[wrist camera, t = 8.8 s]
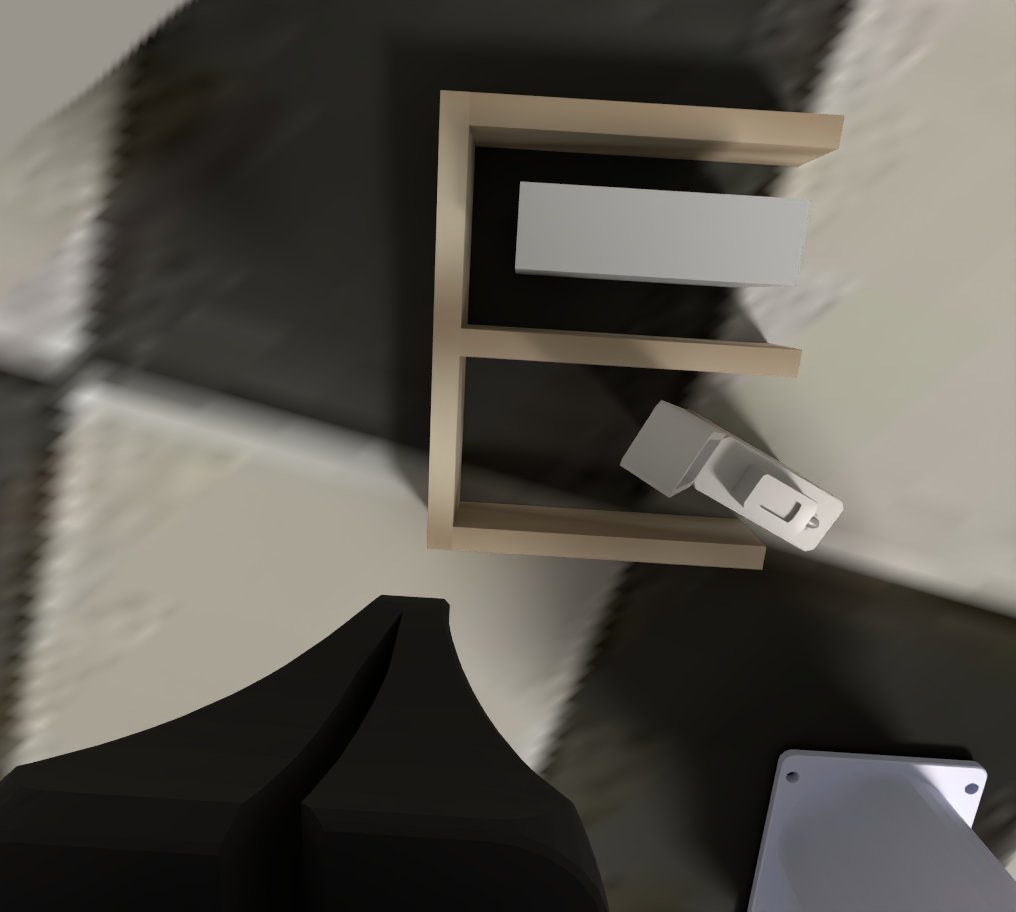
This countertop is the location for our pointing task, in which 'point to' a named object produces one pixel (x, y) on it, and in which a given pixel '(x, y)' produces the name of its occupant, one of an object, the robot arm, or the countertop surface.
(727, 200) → the grey block
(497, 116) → the rack
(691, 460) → the lighter
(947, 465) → the countertop surface
